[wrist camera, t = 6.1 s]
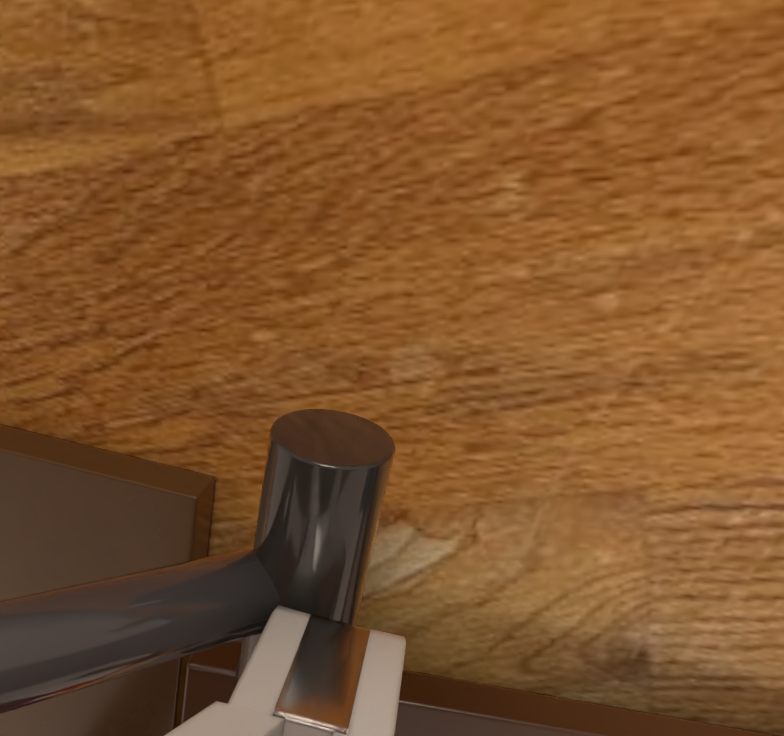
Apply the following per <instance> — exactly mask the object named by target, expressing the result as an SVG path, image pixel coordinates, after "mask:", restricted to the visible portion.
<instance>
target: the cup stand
mask: <svg viewBox="0 0 784 736" xmlns="http://www.w3.org/2000/svg"><path fill="white" fill-rule="evenodd" d="M214 487H215V477H214V476H210V475H206V474H202V473H197V472H193V471H189V470H185V469H181V468H177V467H173V466H169V465H165V464H161V463H157V462H153V461H149V460H144V459H140V458H136V457H132V456H128V455H124V454H120V453H116V452H112V451H108V450H104V449H100V448H96V447H92V446H87V445H83V444H79V443H75V442H71V441H67V440H63V439H59V438H55V437H51V436H47V435H43V434H39V433H34V432H30V431H26V430H22V429H18V428H14V427H10V426H6V425H2V424H0V601H1V600H6V599H11V598H15V597H20V596H25V595H29V594H34V593H39V592H44V591H48V590H53V589H58V588H63V587H67V586H72V585H77V584H81V583H86V582H91V581H96V580H100V579H105V578H110V577H115V576H119V575H124V574H129V573H133V572H138V571H143V570H148V569H152V568H157V567H162V566H167V565H171V564H176V563H181V562H185V561H190V560H195V559H200V558H204V557H207V551H208V542H209V532H210V523H211V514H212V505H213V496H214ZM190 657H191V655H189V656H186V657H183V658H180V659H177V660H173V661H170V662H167V663H164V664H160V665H157V666H154V667H151V668H148V669H144V670H141V671H138V672H135V673H131V674H128V675H125V676H122V677H119V678H115V679H112V680H109V681H106V682H102V683H99V684H96V685H93V686H90V687H86V688H83V689H80V690H77V691H73V692H70V693H67V694H64V695H61V696H57V697H54V698H51V699H48V700H44V701H41V702H38V703H35V704H32V705H28V706H25V707H22V708H19V709H15V710H12V711H9V712H6V713H3V714H0V736H164V735H166V734H167V733H169V732H170V731H172V730H173V729H175V728H176V727H178V726H179V725H181V719H182V709H183V700H184V690H185V680H186V671H187V664H188V662H189V660H190Z"/></svg>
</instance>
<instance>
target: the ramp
mask: <svg viewBox="0 0 784 736" xmlns="http://www.w3.org/2000/svg"><path fill="white" fill-rule="evenodd" d="M239 647H240V640H238V641H235V642H231V643H228V644H225V645H222V646H219V647H215V648H212V649H209V650H206V651H202V652H199V653H196V654H193V655H191V657H190V660H189V662H188V664H187V671H186V680H185V690H184V700H183V709H182V719H181V724H182V723H184V722H185V721H187V720H188V719H190V718H191V717H193V716H194V715H196V714H197V713H199V712H200V711H202V710H203V709H205V708H206V707H208V706H209V705H211V704H212V703H214V702H215V701H219V702H223V703H227V704H228V702H229V700H230V698H231V696H232V693H233V689H234V682H235V675H236V668H237V661H238V654H239ZM394 736H776V735H771V734H765V733H759V732H754V731H748V730H742V729H737V728H731V727H725V726H720V725H714V724H708V723H702V722H697V721H691V720H685V719H680V718H674V717H668V716H663V715H657V714H651V713H646V712H640V711H634V710H629V709H623V708H617V707H612V706H606V705H600V704H595V703H589V702H583V701H578V700H572V699H566V698H561V697H555V696H549V695H544V694H538V693H532V692H526V691H521V690H515V689H509V688H504V687H498V686H492V685H487V684H481V683H475V682H470V681H464V680H458V679H453V678H447V677H441V676H436V675H430V674H424V673H419V672H413V671H407V670H403V672H402V680H401V687H400V695H399V703H398V711H397V719H396V727H395V734H394Z"/></svg>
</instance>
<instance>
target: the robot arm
mask: <svg viewBox="0 0 784 736" xmlns="http://www.w3.org/2000/svg"><path fill="white" fill-rule="evenodd" d="M405 648H406V640H405V637H404V636H400V635H395V634H391V633H387V632H382V631H378V630H374V629H371V630H370V629H367V628H363V627H359V626H355V625H351V624H347V623H344V622H340V621H336V620H333V619H329V618H326V617H322V616H318V615H315V614H313V615H311V614H308V613H304V612H301V611H297V610H294V609H290V608H287V607H283V606H280V605H278V607H277V608H276V609H275V610H274V611H273V612H272V614H271V616H270V618H269V620H268V622H267V624H266V626H265V628H264V630H263V632H262V634H261V636H260V638H259V640H258V642H257V644H256V646H255V648H254V650H253V653H252V655H251V657H250V659H249V661H248V663H247V665H246V667H245V669H244V671H243V673H242V675H241V677H240V679H239V681H238V683H237V685H236V687H235V689H234V691H233V693H232V696H231V698H230V700H229V702H228V704H227V703H223V702H219V701H215V702H214V703H212V704H211V705H209V706H208V707H206V708H205V709H203V710H202V711H200V712H199V713H197V714H196V715H194V716H193V717H191V718H190V719H188V720H187V721H185V722H184V723H182V724H181V725H179V726H178V727H176V728H175V729H173V730H172V731H170V732H169V733H167V734H166V735H164V736H394V734H395V727H396V719H397V711H398V703H399V695H400V687H401V680H402V672H403V664H404V656H405Z"/></svg>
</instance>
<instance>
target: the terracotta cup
mask: <svg viewBox="0 0 784 736" xmlns="http://www.w3.org/2000/svg"><path fill="white" fill-rule="evenodd" d="M394 453H395V445H394V441H393V439H392V437H391V436H390V435H389V434H388V433H387V432H386V431H385V430H384V429H383V428H381V427H380V426H378V425H377V424H375V423H373V422H371V421H369V420H367V419H365V418H362V417H359V416H356V415H353V414H349V413H345V412H340V411H334V410H325V409H307V410H299V411H294V412H290V413H287V414H285V415H283V416H281V417H279V418H278V419H277V420H276V421H275V422H274V423H273V425H272V427H271V429H270V435H269V442H268V449H267V456H266V463H265V470H264V477H263V484H262V491H261V499H260V506H259V513H258V520H257V527H256V534H255V541H254V547H252V548H247V549H242V550H237V551H233V552H228V553H223V554H219V555H214V556H209V557H204V558H200V559H195V560H190V561H185V562H181V563H176V564H171V565H167V566H162V567H157V568H152V569H148V570H143V571H138V572H133V573H129V574H124V575H119V576H115V577H110V578H105V579H100V580H96V581H91V582H86V583H81V584H77V585H72V586H67V587H63V588H58V589H53V590H48V591H44V592H39V593H34V594H29V595H25V596H20V597H15V598H11V599H6V600H1V601H0V714H3V713H6V712H9V711H12V710H15V709H19V708H22V707H25V706H28V705H32V704H35V703H38V702H41V701H44V700H48V699H51V698H54V697H57V696H61V695H64V694H67V693H70V692H73V691H77V690H80V689H83V688H86V687H90V686H93V685H96V684H99V683H102V682H106V681H109V680H112V679H115V678H119V677H122V676H125V675H128V674H131V673H135V672H138V671H141V670H144V669H148V668H151V667H154V666H157V665H160V664H164V663H167V662H170V661H173V660H177V659H180V658H183V657H186V656H189V655H193V654H196V653H199V652H202V651H206V650H209V649H212V648H215V647H219V646H222V645H225V644H228V643H231V642H235V641H238V640H240V647H239V654H238V661H237V668H236V675H235V682H234V689H235V687H236V685H237V683H238V681H239V679H240V677H241V675H242V673H243V671H244V669H245V667H246V665H247V663H248V661H249V659H250V657H251V655H252V653H253V650H254V648H255V646H256V644H257V642H258V640H259V638H260V636H261V634H262V632H263V630H264V628H265V626H266V624H267V622H268V620H269V618H270V616H271V614H272V612H273V611H274V610H275V609H276V608H277V607H278V605H280V606H283V607H287V608H290V609H294V610H297V611H301V612H304V613H308V614H311V615H313V614H315V615H318V616H322V617H326V618H329V619H333V620H336V621H340V622H344V623H347V624H351V625H355V626H356V621H357V617H358V612H359V608H360V603H361V599H362V595H363V590H364V586H365V581H366V577H367V573H368V568H369V564H370V559H371V555H372V551H373V546H374V542H375V537H376V533H377V528H378V524H379V520H380V515H381V511H382V506H383V502H384V498H385V493H386V489H387V484H388V480H389V475H390V471H391V467H392V462H393V458H394ZM234 689H233V691H234Z"/></svg>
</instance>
